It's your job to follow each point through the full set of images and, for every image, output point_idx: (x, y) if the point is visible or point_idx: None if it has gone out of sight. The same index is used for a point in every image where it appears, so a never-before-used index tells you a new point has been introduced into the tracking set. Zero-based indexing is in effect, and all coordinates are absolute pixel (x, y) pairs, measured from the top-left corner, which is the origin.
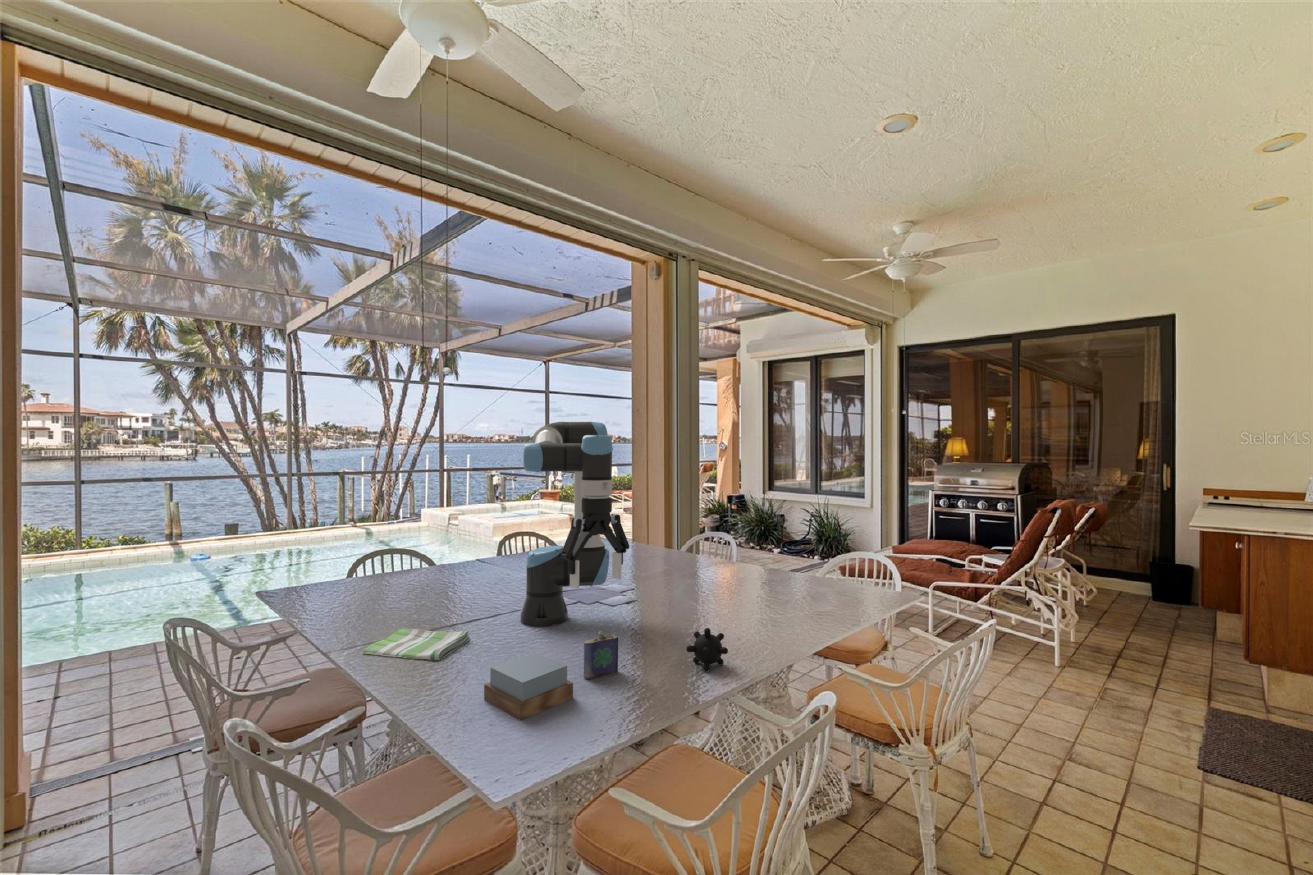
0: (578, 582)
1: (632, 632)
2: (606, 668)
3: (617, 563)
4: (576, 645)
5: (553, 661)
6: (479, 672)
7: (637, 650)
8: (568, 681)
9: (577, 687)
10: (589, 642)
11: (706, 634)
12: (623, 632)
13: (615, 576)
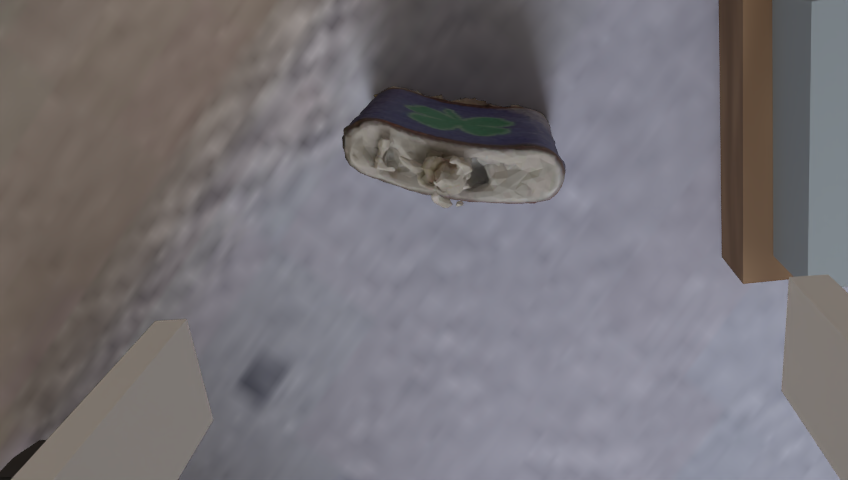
0: (829, 306)
1: None
2: (439, 105)
3: (111, 454)
4: (358, 458)
5: (824, 109)
6: None
7: (154, 246)
8: (750, 14)
9: (629, 71)
10: (539, 163)
11: None
12: None
13: (193, 385)
